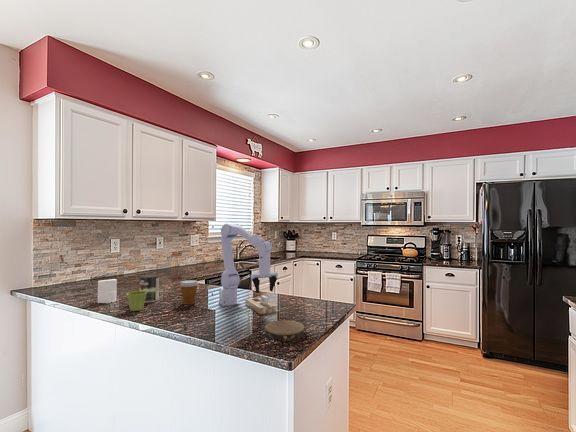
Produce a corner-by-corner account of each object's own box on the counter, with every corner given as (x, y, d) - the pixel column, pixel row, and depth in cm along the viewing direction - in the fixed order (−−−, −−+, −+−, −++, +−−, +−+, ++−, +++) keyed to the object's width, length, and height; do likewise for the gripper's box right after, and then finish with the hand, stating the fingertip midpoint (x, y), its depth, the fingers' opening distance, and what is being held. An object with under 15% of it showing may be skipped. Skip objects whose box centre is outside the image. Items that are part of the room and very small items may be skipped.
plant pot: (121, 311, 149) (122, 293, 149) (137, 306, 158) (137, 290, 158) (135, 313, 146) (136, 295, 146) (150, 308, 155) (151, 291, 155)
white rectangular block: (99, 304, 162) (99, 282, 162) (96, 301, 168) (96, 280, 169) (117, 301, 168) (118, 280, 168) (114, 298, 174) (114, 278, 175)
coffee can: (148, 303, 164) (148, 277, 165) (134, 301, 168) (135, 276, 169) (162, 299, 174) (163, 274, 174) (149, 297, 178) (149, 273, 178)
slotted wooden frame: (260, 314, 145) (260, 308, 145) (245, 304, 162) (245, 299, 163) (276, 311, 149) (276, 305, 149) (260, 302, 167) (260, 297, 167)
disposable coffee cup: (187, 306, 159) (187, 283, 159) (176, 303, 164) (176, 281, 164) (201, 302, 167) (201, 280, 167) (190, 300, 172) (190, 279, 172)
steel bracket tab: (264, 312, 149) (264, 297, 149) (260, 309, 153) (260, 295, 154) (268, 311, 150) (268, 297, 150) (264, 309, 154) (264, 295, 155)
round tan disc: (310, 330, 124) (310, 323, 124) (295, 344, 109) (295, 336, 109) (275, 325, 130) (275, 318, 130) (257, 337, 116) (257, 329, 116)
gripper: (254, 267, 145) (254, 295, 145) (280, 265, 152) (280, 291, 152) (249, 265, 151) (248, 292, 151) (274, 263, 158) (274, 289, 158)
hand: (264, 291), depth 152 cm, fingers open, 7 cm apart
